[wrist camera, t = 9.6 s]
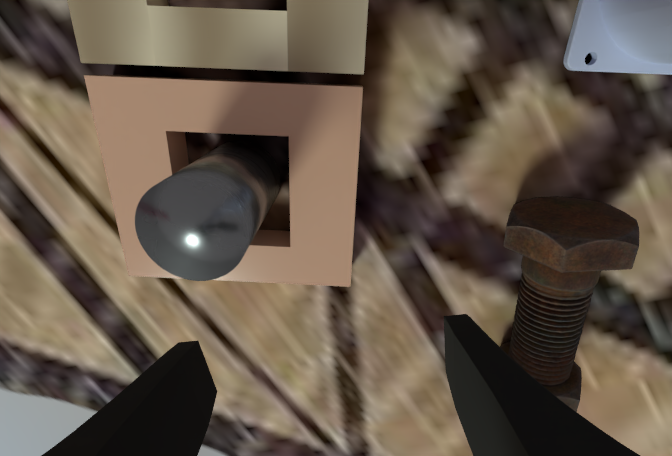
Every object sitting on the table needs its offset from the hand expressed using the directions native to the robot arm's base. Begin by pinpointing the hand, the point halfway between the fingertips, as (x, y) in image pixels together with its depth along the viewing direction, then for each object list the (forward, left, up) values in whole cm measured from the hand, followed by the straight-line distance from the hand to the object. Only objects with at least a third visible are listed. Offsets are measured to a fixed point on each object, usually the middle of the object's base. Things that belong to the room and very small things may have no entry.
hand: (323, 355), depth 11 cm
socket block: (+5, -2, -10) cm, 12 cm away
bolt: (-12, +6, -11) cm, 17 cm away
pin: (+5, -2, -10) cm, 12 cm away
